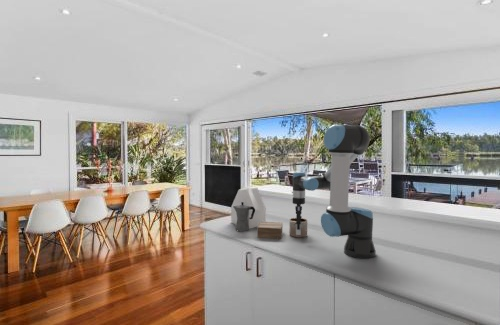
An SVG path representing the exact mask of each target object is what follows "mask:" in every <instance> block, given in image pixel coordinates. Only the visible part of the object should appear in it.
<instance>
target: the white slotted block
mask: <svg viewBox="0 0 500 325" xmlns="http://www.w3.org/2000/svg"><path fill="white" fill-rule="evenodd" d="M241 202H244V203H243V205H246V206H251V207H254V208H255V213H254V215H253V218H252V219H249V218H251V214H252V211H253V210H252V209H250V210H249V212H248V217H247V219H248V226H249V229H252V228H258V226H259V224H260V222H267V221H266V216H267V215H266V212H267V211H266V210H267V209H266V205H265V203H264V201H263V198H262V196H261V193H260V190H259V188H258V187H255V186H254V187H249V188H240V189H238V190H237V193H236V195H235V197H234V199H233V202H232V204H231V207H230V217H231V218H230V220H231V221H230V223H231V224H233V225H236V224H237V214H236V210H235V209H234V207H233V206H239V205H242V204H241Z"/></svg>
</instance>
